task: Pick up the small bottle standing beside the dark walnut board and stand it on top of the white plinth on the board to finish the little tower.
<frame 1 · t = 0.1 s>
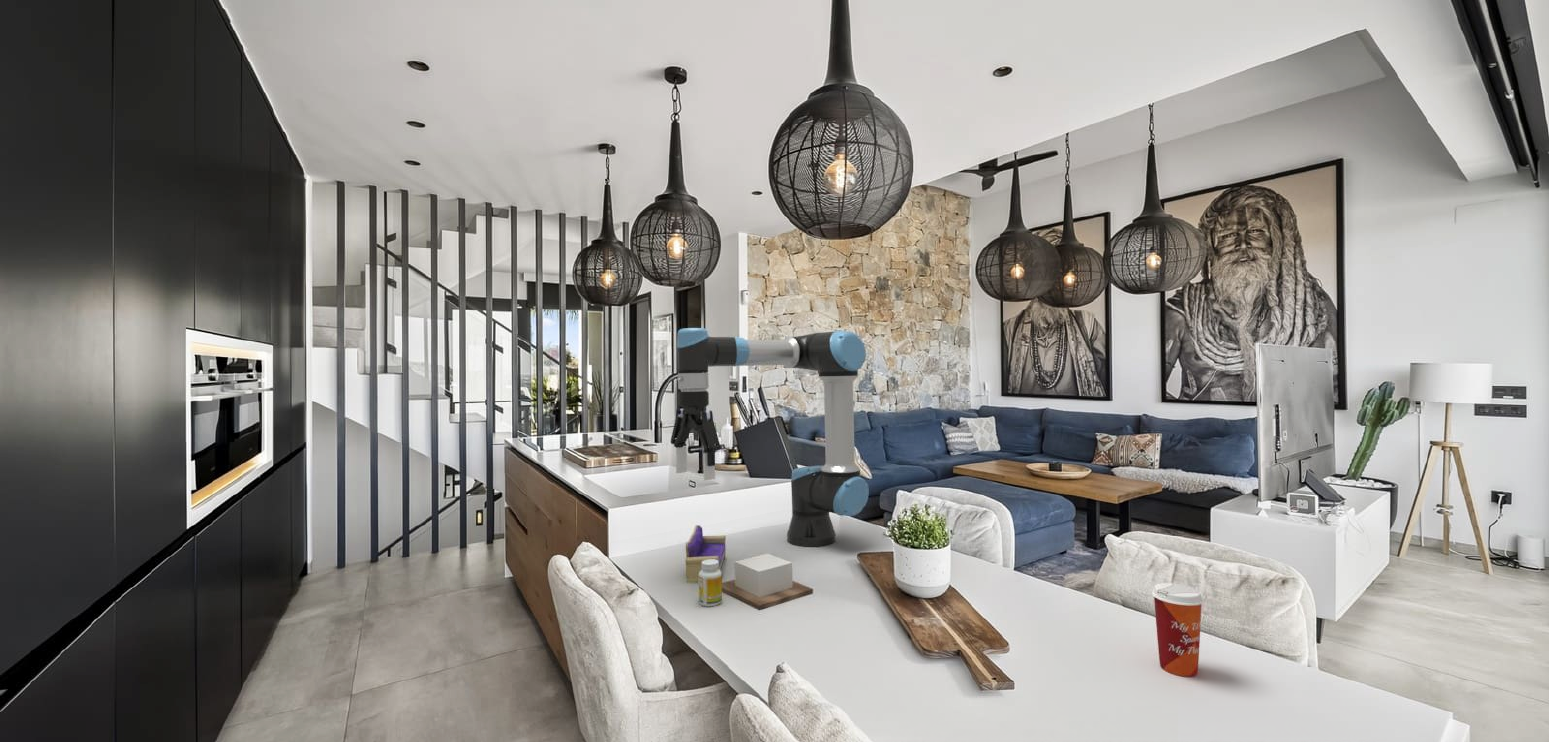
hand: (695, 476, 156), 28 cm above the table, tool pointing down, fingers open, 13 cm apart
supplement bottle: (710, 603, 146), on the table
walnut board: (763, 590, 153), on the table
toy sofa: (707, 571, 170), on the table
white plinth: (763, 574, 153), on the walnut board, point 4 cm above the table
paper cup: (1178, 670, 110), on the table
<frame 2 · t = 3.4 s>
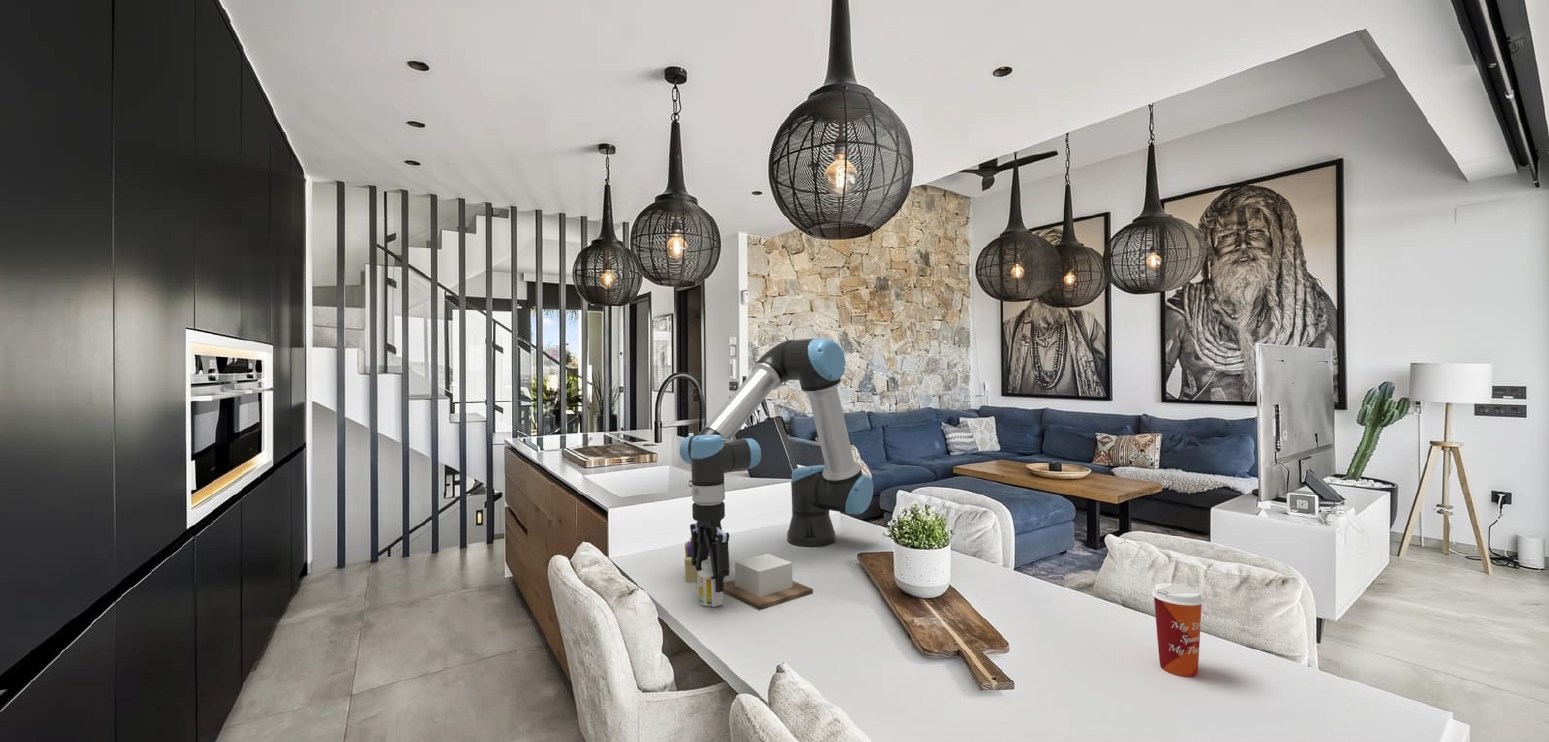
hand: (710, 601, 146), 0 cm above the table, tool pointing down, fingers closed on supplement bottle, 5 cm apart
supplement bottle: (710, 603, 146), on the table, touching gripper
everything else where it was.
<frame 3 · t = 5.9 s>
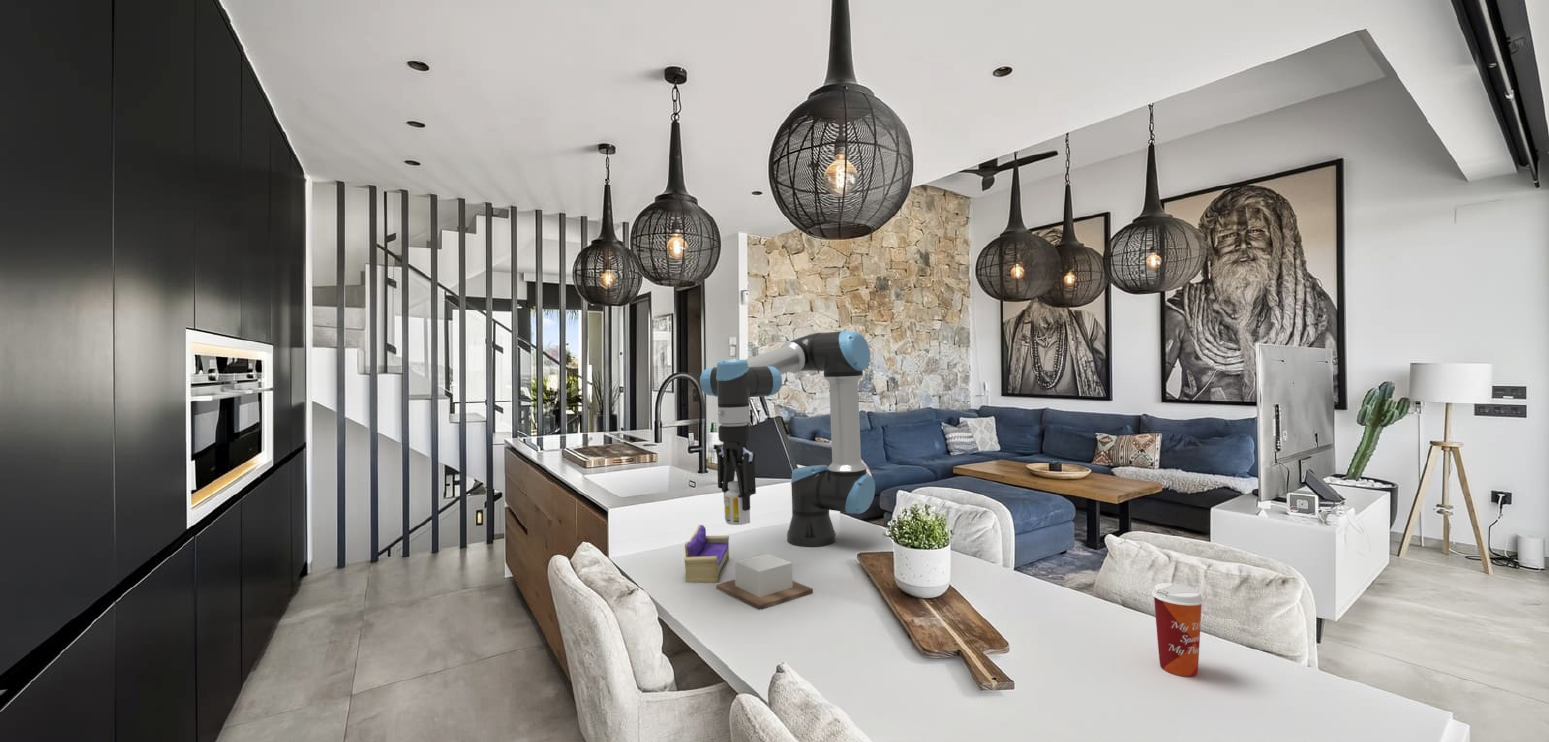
hand: (737, 521, 150), 18 cm above the table, tool pointing down, fingers closed on supplement bottle, 5 cm apart
supplement bottle: (737, 523, 150), point 17 cm above the table, touching gripper
everything else where it was.
when the fingers open (9 cm above the table, at t = 8.5 s): supplement bottle drops 1 cm, resting on white plinth.
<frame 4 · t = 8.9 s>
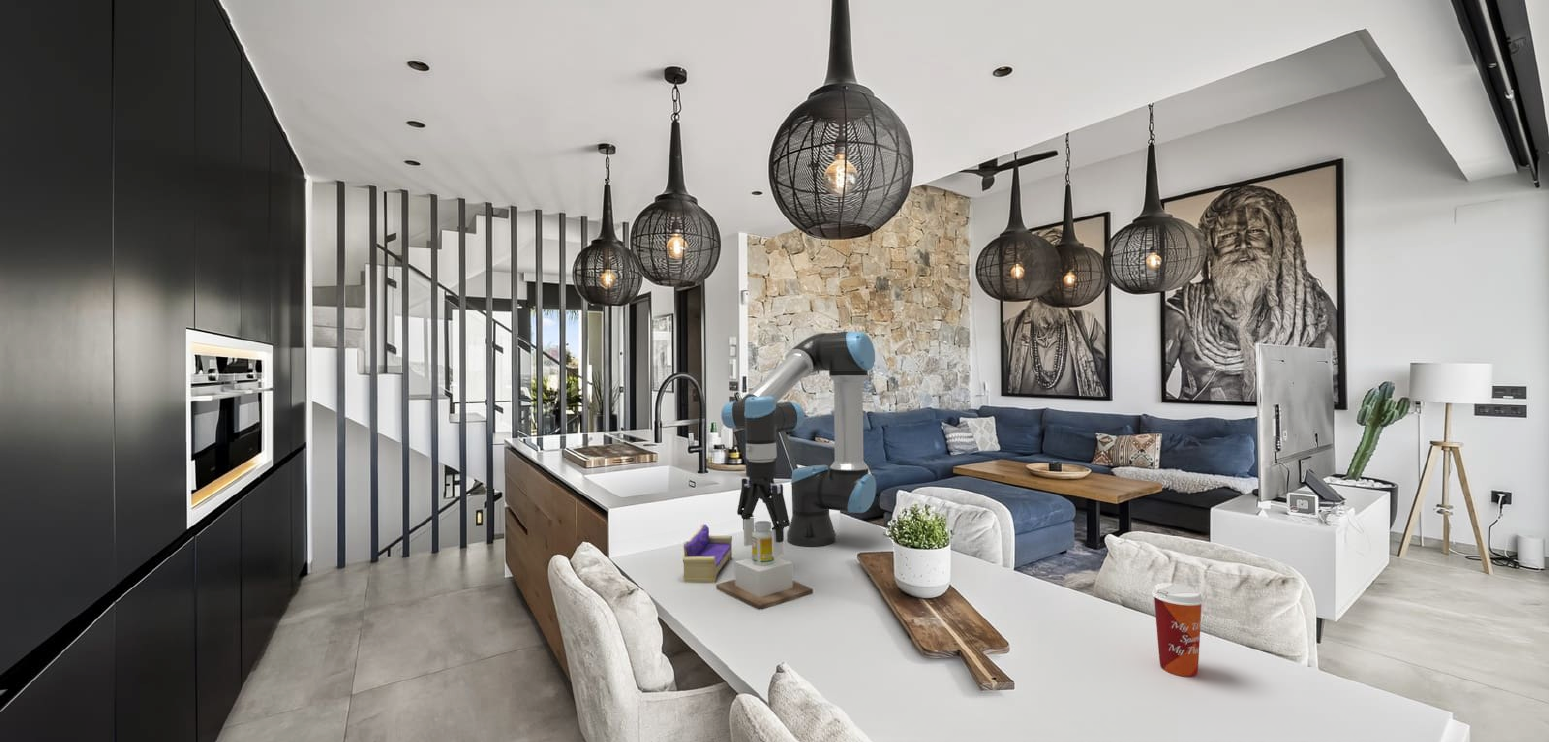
hand: (763, 550, 153), 10 cm above the table, tool pointing down, fingers open, 11 cm apart
supplement bottle: (763, 563, 153), point 7 cm above the table, touching white plinth
everything else where it was.
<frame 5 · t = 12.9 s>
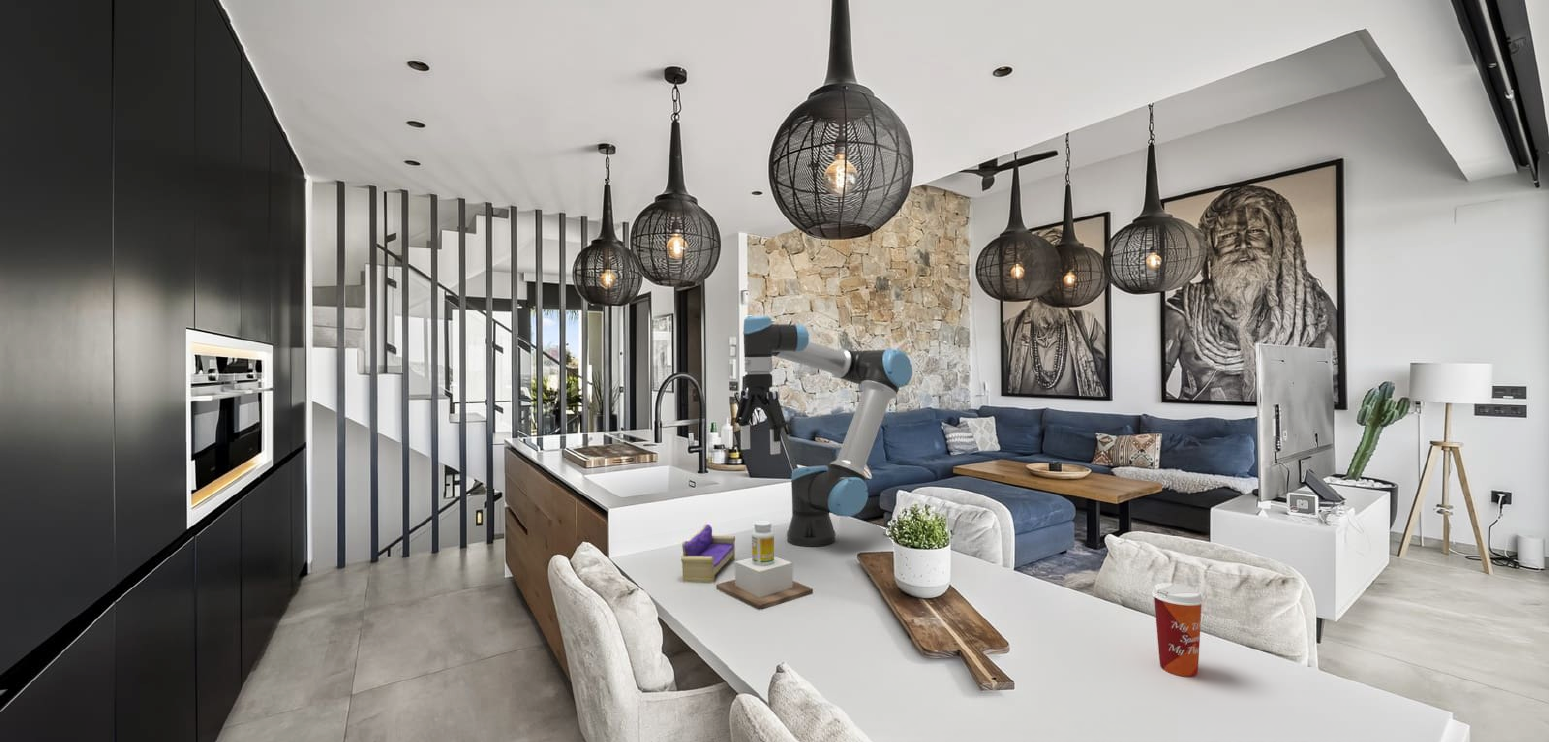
hand: (760, 451, 170), 32 cm above the table, tool pointing down, fingers open, 13 cm apart
at the end: supplement bottle 0.0 cm off-centre on the white plinth, point 6.8 cm above the white plinth's base; supplement bottle tilted 0°; the gripper is holding nothing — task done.
